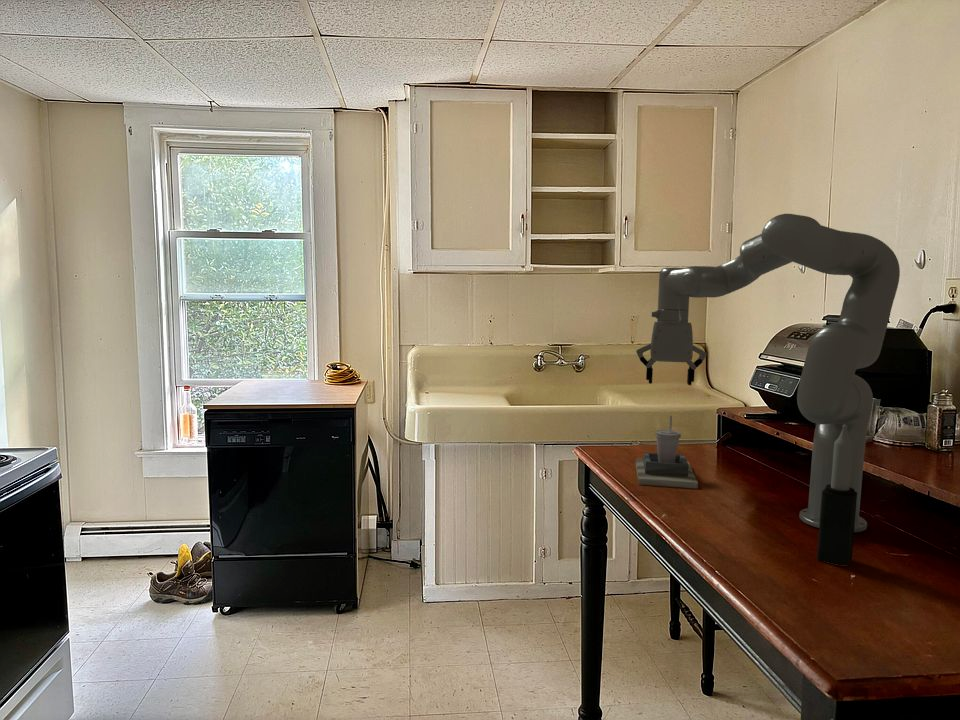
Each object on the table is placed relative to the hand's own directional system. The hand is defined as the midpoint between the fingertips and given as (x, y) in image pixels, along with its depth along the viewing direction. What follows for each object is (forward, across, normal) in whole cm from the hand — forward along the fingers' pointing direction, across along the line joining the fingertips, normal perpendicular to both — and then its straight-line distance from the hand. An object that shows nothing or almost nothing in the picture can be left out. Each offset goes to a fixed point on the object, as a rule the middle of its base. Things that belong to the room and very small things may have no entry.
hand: (669, 383), depth 172 cm
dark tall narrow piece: (+24, +26, -49) cm, 60 cm away
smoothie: (+22, 0, 0) cm, 23 cm away
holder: (+24, 0, 0) cm, 24 cm away
